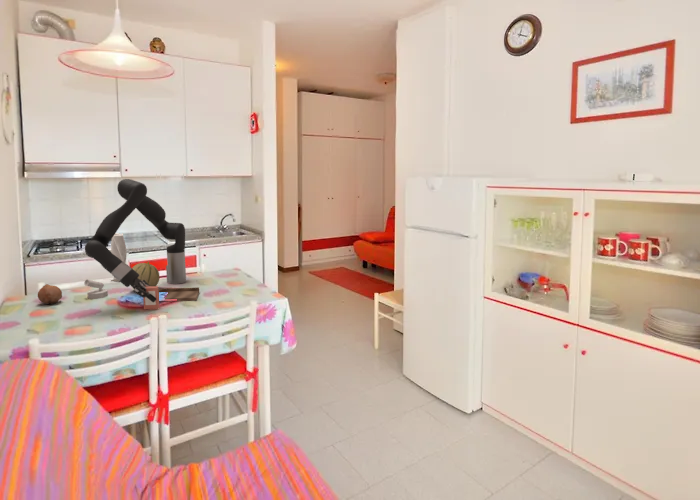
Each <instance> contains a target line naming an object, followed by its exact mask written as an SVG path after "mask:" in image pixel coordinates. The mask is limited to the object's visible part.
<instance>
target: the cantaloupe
mask: <svg viewBox="0 0 700 500" xmlns="http://www.w3.org/2000/svg"><path fill="white" fill-rule="evenodd" d="M131 268H132V269H133V270H134V271H136V272H137V273H138V274H139V277H138V279H140V280H142V281H143V280H145V281H146V282H147V283H148V284H149V285H150V286H158V284H159V281H160V272H159V270H158V268H157V267H156V266H155V265H153V264H151V263H150V261H147V262H140V263H137V264H135V265H134V266H132V267H131Z"/></svg>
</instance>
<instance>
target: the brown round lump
mask: <svg viewBox="0 0 700 500" xmlns="http://www.w3.org/2000/svg"><path fill="white" fill-rule="evenodd" d="M62 298H63V292H62V290H61V288H60V287H59V286H57V285H49V284H47V283H45V284H44V285H42V287H41V288H39V290H38V292H37V299H38V300H39V301H40V302H41V303H43V304H46V305H54V304H57V303H58V302H59V301H60V300H61V299H62Z"/></svg>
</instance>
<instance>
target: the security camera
mask: <svg viewBox="0 0 700 500" xmlns="http://www.w3.org/2000/svg"><path fill="white" fill-rule="evenodd" d="M84 286H86V287H91V288H96V289H91V290H89V291H87V293H86V294H87V298H88V299H91V300H93V299H96V300H97V299H98V300H99V299H103V298H106V297H108V292H109V291H108V289H106V288H104V287H105V286H104V283H103V282H100V281H96V280H91V279H87V278H86V279H85V280H84Z"/></svg>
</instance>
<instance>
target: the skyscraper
mask: <svg viewBox="0 0 700 500" xmlns="http://www.w3.org/2000/svg"><path fill="white" fill-rule="evenodd" d="M110 244H111V246H110V248H111V249H110V252H111V253H112V254H114V255H115V256H116V257H118V258H119V259H120V260H121V261H123V262H124V263H125V264H127V263H126V262H127V246H126V245H127V244H126V242H125V238H124V233H123V232H121V233H120V232H116V233H115V235H114V236H113V237H112V239H111V240H110ZM110 282H116V283H121V282H120V281H118V280H117V279H116V278H115V277H114V276H113V279H111V280H110Z"/></svg>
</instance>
